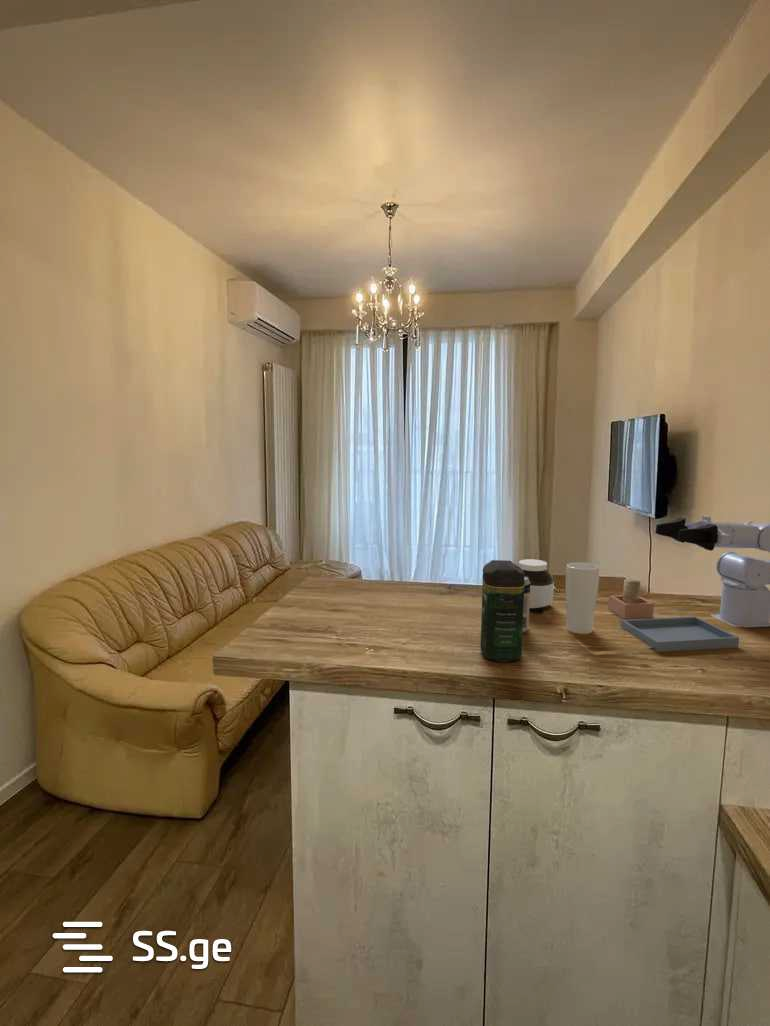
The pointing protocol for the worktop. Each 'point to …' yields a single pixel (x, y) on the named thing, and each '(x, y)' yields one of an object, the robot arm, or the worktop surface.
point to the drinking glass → (581, 596)
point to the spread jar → (538, 584)
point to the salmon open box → (631, 608)
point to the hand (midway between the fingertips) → (667, 532)
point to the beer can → (526, 605)
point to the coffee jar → (502, 611)
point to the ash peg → (631, 591)
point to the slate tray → (680, 634)
